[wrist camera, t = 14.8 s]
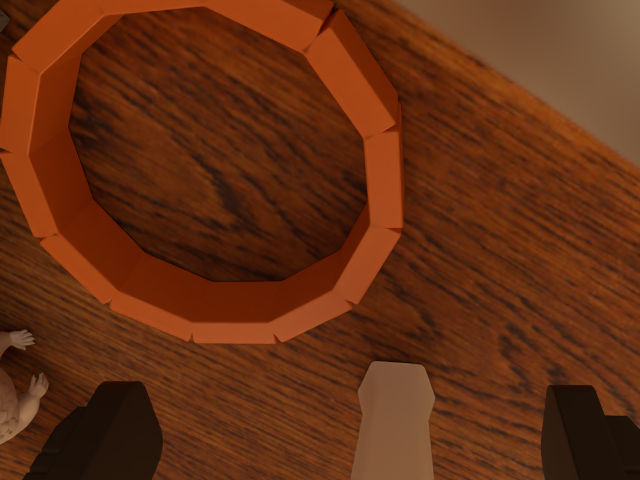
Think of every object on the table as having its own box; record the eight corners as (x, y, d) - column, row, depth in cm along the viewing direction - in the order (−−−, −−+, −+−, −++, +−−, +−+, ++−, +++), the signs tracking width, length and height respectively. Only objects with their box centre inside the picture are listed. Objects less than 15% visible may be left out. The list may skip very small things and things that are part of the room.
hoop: (107, 301, 29) (78, 342, 26) (-14, -21, 21) (-71, -7, 19) (409, 300, 26) (408, 346, 24) (394, -68, 19) (390, -59, 16)
